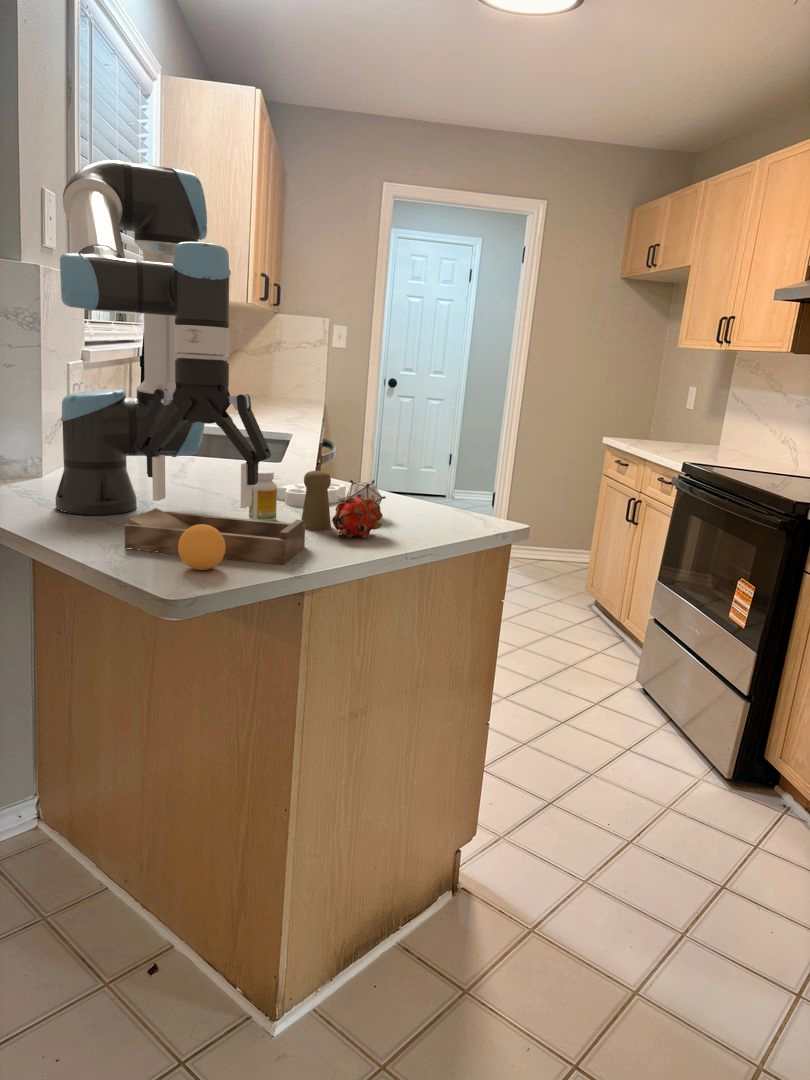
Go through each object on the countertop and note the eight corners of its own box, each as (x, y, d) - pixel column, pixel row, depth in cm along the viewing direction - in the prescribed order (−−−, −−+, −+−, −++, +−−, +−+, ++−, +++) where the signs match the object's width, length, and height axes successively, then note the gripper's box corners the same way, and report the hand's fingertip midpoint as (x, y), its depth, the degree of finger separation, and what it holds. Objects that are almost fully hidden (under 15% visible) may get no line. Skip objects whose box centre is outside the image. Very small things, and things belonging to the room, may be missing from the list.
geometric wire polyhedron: (367, 537, 161) (377, 505, 154) (331, 519, 162) (340, 487, 154) (384, 511, 167) (395, 479, 160) (350, 493, 168) (359, 461, 160)
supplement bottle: (281, 519, 156) (282, 471, 153) (266, 523, 151) (267, 474, 149) (259, 515, 158) (260, 468, 156) (243, 519, 153) (244, 471, 151)
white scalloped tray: (311, 492, 189) (359, 501, 182) (260, 501, 174) (310, 511, 167) (311, 478, 188) (359, 487, 181) (260, 486, 174) (310, 496, 166)
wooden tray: (124, 548, 127) (123, 519, 126) (157, 532, 139) (157, 505, 138) (284, 564, 124) (285, 534, 122) (304, 546, 136) (305, 518, 134)
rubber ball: (170, 573, 115) (170, 527, 114) (189, 561, 122) (189, 518, 120) (215, 577, 114) (215, 531, 113) (231, 565, 121) (232, 522, 120)
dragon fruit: (381, 540, 150) (339, 559, 142) (354, 509, 153) (310, 526, 144) (400, 511, 145) (357, 529, 136) (371, 480, 147) (327, 495, 139)
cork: (336, 526, 153) (338, 471, 150) (323, 531, 147) (325, 475, 145) (308, 522, 155) (310, 467, 152) (294, 527, 149) (296, 471, 147)
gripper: (107, 352, 109) (111, 500, 113) (278, 362, 106) (275, 514, 110) (132, 353, 116) (135, 492, 121) (293, 362, 113) (290, 505, 118)
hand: (202, 503), depth 116 cm, fingers open, 13 cm apart
